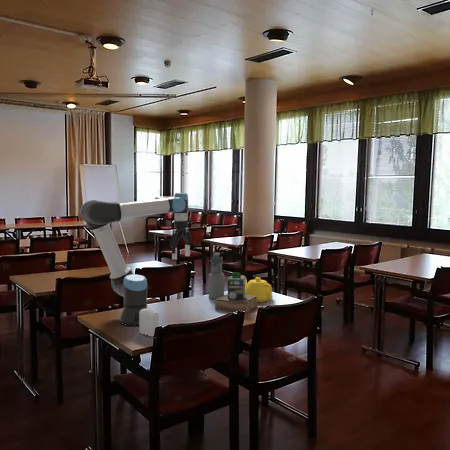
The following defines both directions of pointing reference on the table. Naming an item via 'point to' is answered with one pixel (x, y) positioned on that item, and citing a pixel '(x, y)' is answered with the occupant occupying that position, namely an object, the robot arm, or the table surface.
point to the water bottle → (216, 277)
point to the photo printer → (148, 321)
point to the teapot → (258, 289)
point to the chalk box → (236, 287)
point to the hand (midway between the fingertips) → (181, 257)
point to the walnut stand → (235, 303)
